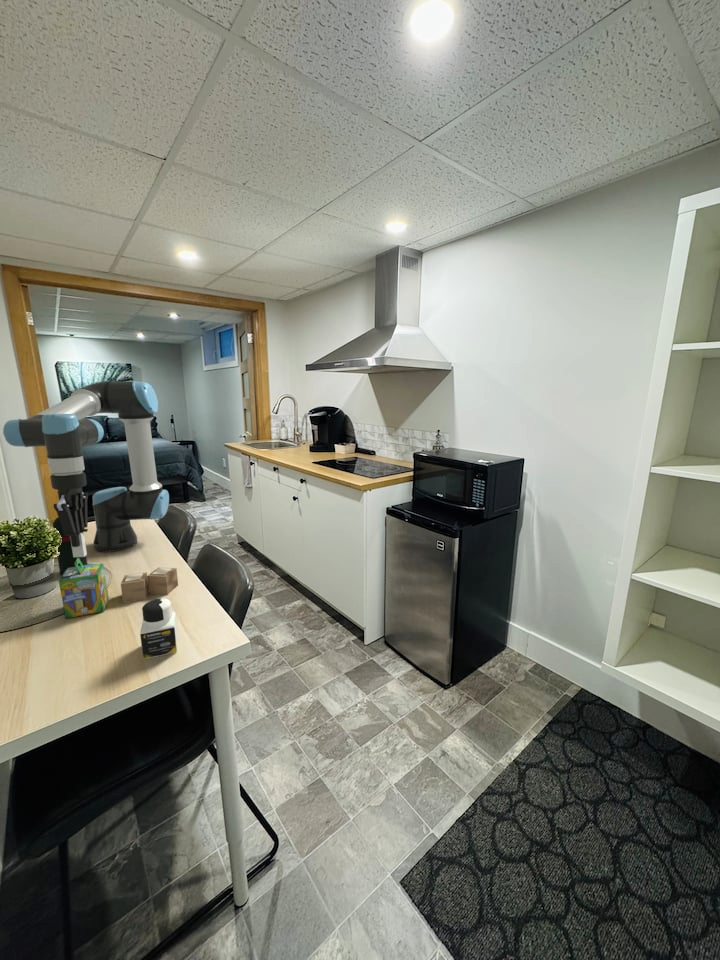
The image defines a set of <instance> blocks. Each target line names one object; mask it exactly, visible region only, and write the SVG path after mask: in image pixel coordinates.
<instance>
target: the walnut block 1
mask: <svg viewBox="0 0 720 960" xmlns="http://www.w3.org/2000/svg"><path fill="white" fill-rule="evenodd" d="M147 576H148V572H139V573H134V574H133V573H131V574H126V575H124V576H123V578H122V580H121V582H120V588H121V589H120V590H121V591H120V592H121V599H122V603H129V602H135V601H141V600H142V601H143V600H147V596H148V594H149V588H148V579H147Z"/></svg>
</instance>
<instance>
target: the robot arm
mask: <svg viewBox="0 0 720 960" xmlns="http://www.w3.org/2000/svg"><path fill="white" fill-rule="evenodd" d="M158 406H159V401H158V397H157V394H156V392H155V390H154V388H153V387H152V385H151V384H150V383H148V382H146V381H136V380H135V381H129V380H128V381H122V380H121V381H117V380H116V381H115V380H114V381H113V380H112V381H111V380H109V381H108V380H106V381H105V380H102V381H98V382H94V383H91V384H88V385H85V386H82V387H80V388H77V390H74V391H73V392H72V393H70V396H69V397H68V398H66V399H64V400H62V401H60V402H58V403H56V404H54V405H52V406H51V407H48V408H47V409H44V410H42V411H40V412H38V413H36V414H35V415H33V416H31V417H28V418H26V419H23V418H22V419H21V418H18V419H10V420H7V421H6V422H5V423H4V425H3V428H2V429H3V430H2V434H3V436H4V439H5V441H6V442H7V444H9V445H10V446H12V447H24V448H29V447H30V448H32V447H33V448H34V447H41V448H42V447H45V450H46V451H45V452H46V457H47V462H46V463H47V464H48V470H49V473H50V474H51V475H50V476H49V478H50V484H51V488H52V489H53V490H57V492H58V491H59V496H58V503H54V504H53V509H54V511H56V513H57V518H58V517H59V520H60V523H61V526H62V530H63V533H64V535H65V536H70V539H71V545H72V552H73V557H85V556H86V557H87V555H88V554H87V546H86V541H85V539H86V538H85V533H87V532H88V498H89V493H88V492H83V487H86V486H87V484H88V483H87V477H86V473H85V472H84V471H85V469H86V468H85V462H84V455H83V449H82V448H83V447H88V446H93V445H95V444H97V443H99V442H101V441H102V439H103V437H104V434H105V432H104V427H103V426H102V424H101V423H100V422H98V421H97V420H95V419H92V418H91V419H89V418H87V417H93V416H95V415H97V414H117V416H118V420H119V421H121V422H122V423H123V424H124V430H125V432H124V433H125V437H126V438H125V439H126V446H127V452H128V458H129V459H128V460H129V465H130V473H131V479H132V481H131V482H132V485H130V486H129V490H128V489H127V487H125V486H117V487H109V488H105V489H102V490H98V491H96V492H95V493H93V495H92V507H93V513H94V521H95V527H96V531H95V535H94V538H93V544H92V545H93V549H94V550H95V551H97V552H106V553H107V552H108V553H109V552H115V551H121V550H126V549H128V548H130V547H133V546H135V545H136V544H137V543H138V536H137V534H136V531H135V530H134V528H133V526H132V525H131V521H136V520H139V521H140V520H157V519H162V518H164V517H165V515H166V514H167V512H168V510H169V509H168V508H169V504H170V494H169V491H168V490H167V489H163V484H162V483H160V482H159V481H158V475H157V468H156V461H155V460H156V459H155V452H154V445H153V437H152V430H151V422H152V420H153V419H154V415H155V414H156V413H158V411H159V407H158ZM59 500H60V501H59ZM134 544H135V545H134Z"/></svg>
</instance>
